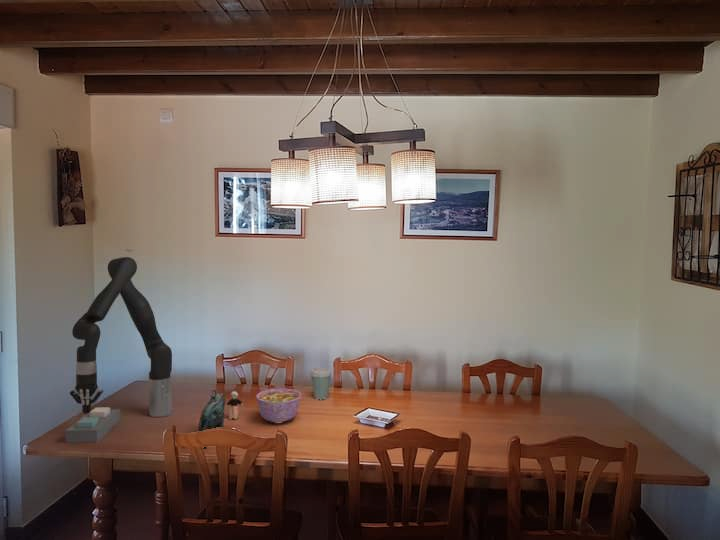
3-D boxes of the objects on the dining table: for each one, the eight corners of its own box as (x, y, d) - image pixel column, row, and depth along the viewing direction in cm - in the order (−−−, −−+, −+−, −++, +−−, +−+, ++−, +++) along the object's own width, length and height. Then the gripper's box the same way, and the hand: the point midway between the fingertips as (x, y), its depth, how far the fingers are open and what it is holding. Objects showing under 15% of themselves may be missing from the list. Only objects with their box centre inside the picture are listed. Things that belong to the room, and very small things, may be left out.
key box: (120, 420, 231) (119, 409, 231) (97, 442, 207) (96, 430, 207) (92, 420, 230) (91, 409, 230) (65, 442, 207) (65, 430, 206)
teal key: (98, 424, 216) (98, 417, 216) (92, 429, 210) (92, 422, 210) (83, 424, 215) (83, 417, 215) (76, 429, 209) (76, 422, 209)
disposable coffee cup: (335, 397, 269) (335, 369, 268) (322, 403, 260) (323, 373, 259) (318, 394, 274) (318, 366, 273) (305, 399, 265) (306, 370, 264)
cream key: (110, 414, 228) (110, 407, 228) (104, 419, 222) (104, 412, 222) (96, 414, 227) (95, 407, 227) (90, 419, 221) (89, 412, 221)
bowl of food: (299, 411, 247) (299, 387, 246) (302, 427, 228) (302, 401, 227) (256, 413, 244) (256, 389, 243) (255, 429, 224) (255, 403, 223)
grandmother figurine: (227, 421, 233) (227, 393, 232) (225, 418, 236) (225, 391, 235) (244, 418, 236) (244, 391, 235) (241, 416, 240) (241, 389, 239)
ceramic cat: (214, 429, 223) (214, 384, 222) (229, 430, 223) (229, 384, 221) (195, 448, 203) (195, 398, 202) (211, 449, 203) (211, 399, 201)
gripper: (107, 369, 215) (107, 410, 216) (74, 368, 214) (74, 410, 216) (99, 374, 208) (99, 416, 209) (65, 373, 207) (65, 416, 208)
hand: (86, 413), depth 212 cm, fingers closed
